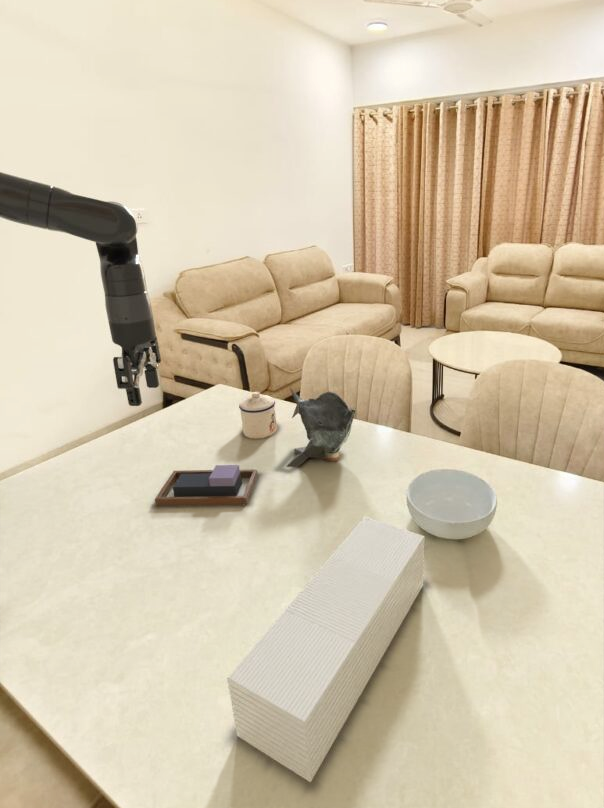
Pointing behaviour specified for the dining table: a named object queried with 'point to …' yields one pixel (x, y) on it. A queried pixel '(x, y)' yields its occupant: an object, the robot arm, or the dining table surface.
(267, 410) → the teacup with lid
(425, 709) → the dining table surface
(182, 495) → the navy and purple block
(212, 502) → the empty rectangular frame
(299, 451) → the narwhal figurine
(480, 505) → the cereal bowl
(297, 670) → the stack of papers
